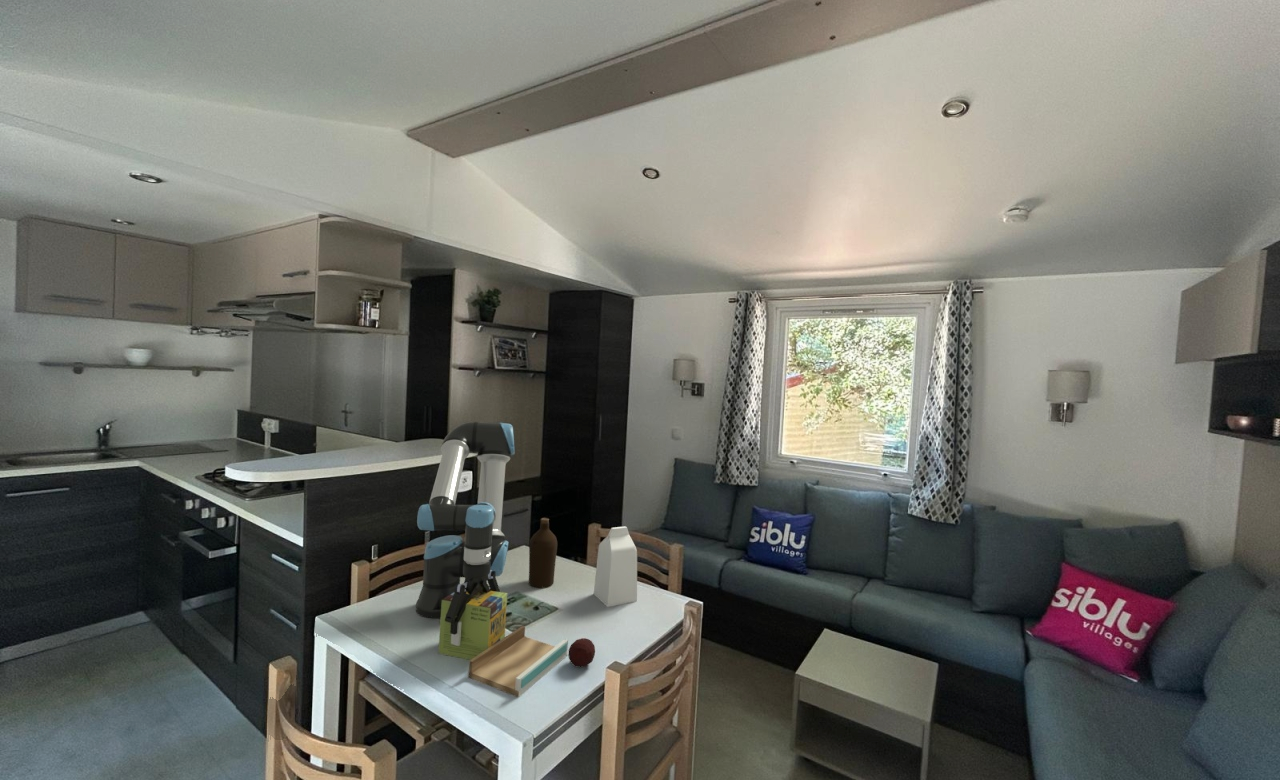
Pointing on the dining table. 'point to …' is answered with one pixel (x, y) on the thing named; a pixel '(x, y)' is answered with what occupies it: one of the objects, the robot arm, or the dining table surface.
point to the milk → (616, 569)
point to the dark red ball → (581, 652)
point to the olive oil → (542, 556)
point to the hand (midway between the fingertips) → (473, 633)
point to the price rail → (541, 667)
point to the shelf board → (511, 664)
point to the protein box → (475, 625)
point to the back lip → (496, 649)
